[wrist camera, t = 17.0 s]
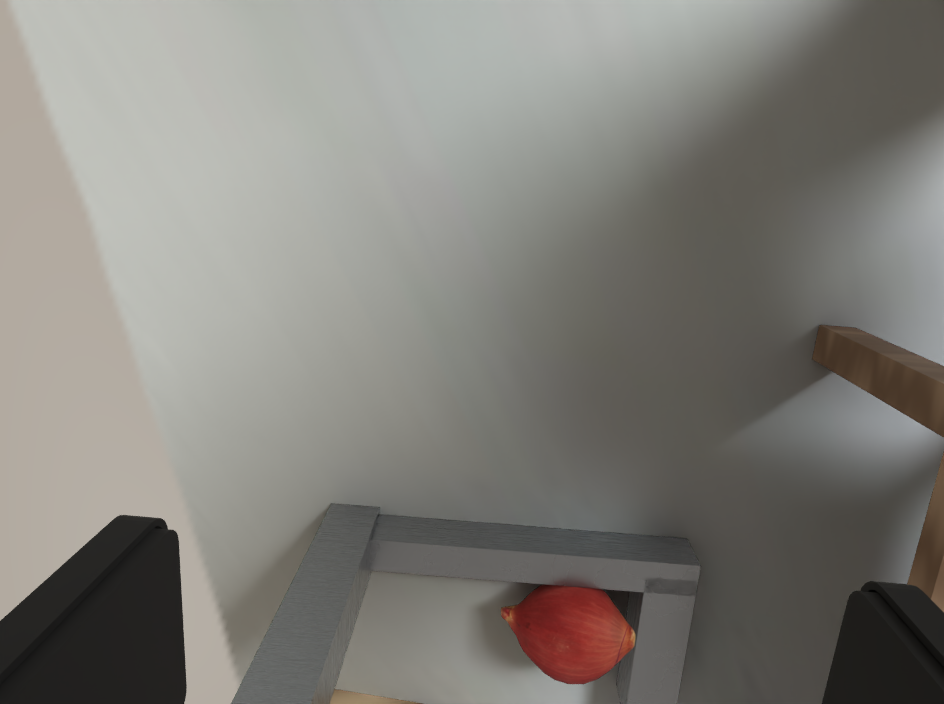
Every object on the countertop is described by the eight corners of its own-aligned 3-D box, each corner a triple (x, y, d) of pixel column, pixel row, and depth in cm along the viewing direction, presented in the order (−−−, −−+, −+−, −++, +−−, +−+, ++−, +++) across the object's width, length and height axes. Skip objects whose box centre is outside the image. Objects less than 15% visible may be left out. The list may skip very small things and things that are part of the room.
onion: (628, 720, 38) (487, 688, 39) (627, 651, 43) (504, 626, 45) (644, 630, 36) (496, 601, 38) (641, 571, 42) (512, 547, 43)
